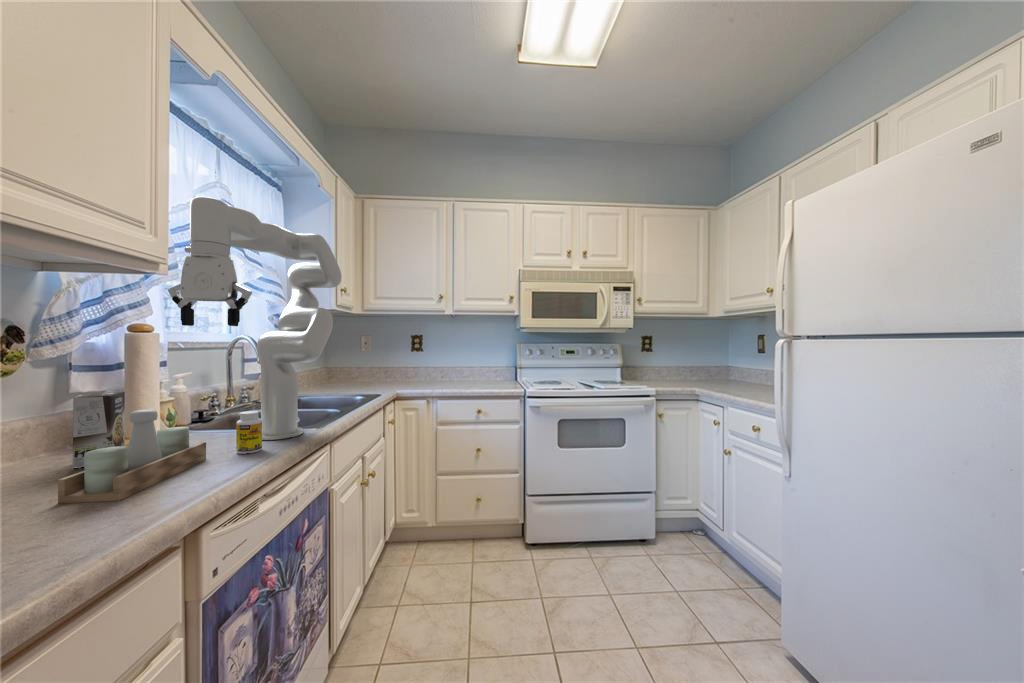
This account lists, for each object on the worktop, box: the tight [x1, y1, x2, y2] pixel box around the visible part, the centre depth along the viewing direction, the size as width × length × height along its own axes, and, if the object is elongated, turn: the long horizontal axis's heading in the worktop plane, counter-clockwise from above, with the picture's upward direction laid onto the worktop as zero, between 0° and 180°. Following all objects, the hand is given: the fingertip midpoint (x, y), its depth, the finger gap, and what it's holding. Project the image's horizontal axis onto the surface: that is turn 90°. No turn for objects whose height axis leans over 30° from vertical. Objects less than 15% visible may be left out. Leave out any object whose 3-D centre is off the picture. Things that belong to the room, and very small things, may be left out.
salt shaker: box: [127, 408, 162, 471], centre depth 81 cm, size 6×6×13 cm
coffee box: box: [72, 391, 126, 469], centre depth 91 cm, size 9×6×16 cm
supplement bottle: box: [235, 410, 263, 455], centre depth 100 cm, size 6×6×10 cm
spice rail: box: [57, 426, 207, 504], centre depth 80 cm, size 24×10×8 cm, turn 8°
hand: (210, 325), depth 90 cm, fingers open, 9 cm apart
